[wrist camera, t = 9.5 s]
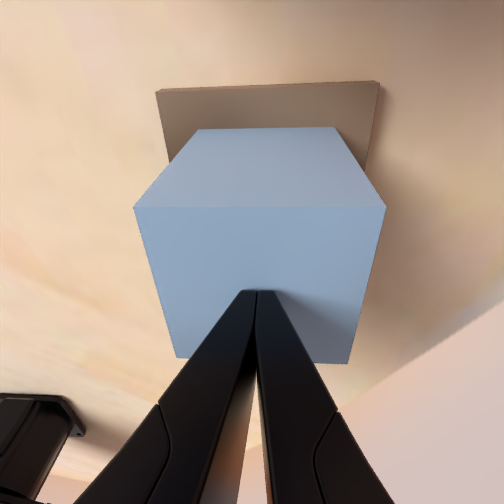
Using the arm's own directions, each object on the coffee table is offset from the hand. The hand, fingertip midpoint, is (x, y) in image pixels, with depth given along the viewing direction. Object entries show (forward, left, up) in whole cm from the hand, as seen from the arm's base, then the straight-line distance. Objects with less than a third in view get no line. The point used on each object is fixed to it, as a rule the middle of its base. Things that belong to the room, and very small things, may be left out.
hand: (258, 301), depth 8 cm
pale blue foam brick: (0, 0, -7) cm, 7 cm away
